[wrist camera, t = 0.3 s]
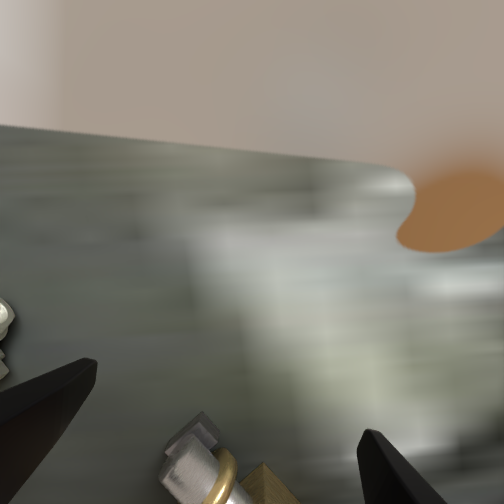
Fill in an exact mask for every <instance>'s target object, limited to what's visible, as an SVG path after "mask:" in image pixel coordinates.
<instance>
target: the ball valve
mask: <svg viewBox="0 0 504 504" xmlns="http://www.w3.org/2000/svg"><path fill="white" fill-rule="evenodd" d="M14 318H15V314H14V312H13V310H12V309H11V307H10V306H9V305H8V304H7V303H6V302H5V301H4V300H3V299H2V298H0V341H1V340H2V339H3V338H4V337H5V336H6V334H7V332H8V326H9V324H10V323H11V322H12V321H13V319H14ZM4 357H5V354H4V353H3V352H2V350H1V349H0V380H1V379H2V378H3V377H4V376H6V375H7V373H8V372H9V369H8V368H7V367H6V366H5V364H4V363H3V362H2V359H3V358H4Z"/></svg>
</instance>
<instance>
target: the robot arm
mask: <svg viewBox="0 0 504 504" xmlns="http://www.w3.org/2000/svg"><path fill="white" fill-rule="evenodd" d="M96 373H97V361H96V360H93V359H89V358H82V359H79V360H77V361H74V362H72V363H69V364H67V365H65V366H62V367H60V368H57V369H55V370H53V371H50V372H48V373H45V374H43V375H40V376H38V377H36V378H33V379H31V380H28V381H26V382H24V383H21V384H19V385H16V386H14V387H11V388H9V389H7V390H4V391H2V392H0V504H8V503H9V502H10V501H11V499H12V498H13V497H14V495H15V494H16V493H17V492H18V490H19V489H20V488H21V487H22V485H23V484H24V483H25V482H26V480H27V479H28V478H29V477H30V475H31V474H32V473H33V472H34V470H35V469H36V468H37V466H38V465H39V464H40V463H41V461H42V460H43V459H44V458H45V456H46V455H47V454H48V453H49V451H50V450H51V449H52V448H53V446H54V445H55V444H56V442H57V441H58V440H59V438H60V437H61V435H62V434H63V433H64V431H65V430H66V428H67V427H68V425H69V424H70V422H71V421H72V419H73V418H74V416H75V415H76V413H77V412H78V410H79V408H80V407H81V405H82V404H83V402H84V401H85V399H86V398H87V396H88V395H89V393H90V392H91V390H92V389H93V387H94V384H95V381H96ZM357 459H358V465H359V471H360V477H361V482H362V488H363V494H364V500H365V504H447V503H446V502H445V500H444V499H443V498H442V497H441V496H440V495H439V494H438V493H437V492H436V491H435V490H434V489H433V488H432V487H431V486H430V485H429V483H428V482H427V481H426V480H425V479H424V478H423V477H422V476H421V475H420V474H419V473H418V472H417V471H416V470H415V469H414V467H413V466H412V465H411V464H410V463H409V462H408V461H407V460H406V459H405V458H404V457H403V456H402V455H401V454H400V453H399V451H398V450H397V449H396V448H395V447H394V446H393V445H392V444H391V443H390V442H389V441H388V440H387V439H386V438H385V437H384V436H383V434H382V433H381V432H379V431H376V430H372V429H366V430H365V431H364V433H363V435H362V438H361V440H360V442H359V444H358V447H357Z"/></svg>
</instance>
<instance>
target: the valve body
mask: <svg viewBox="0 0 504 504" xmlns="http://www.w3.org/2000/svg"><path fill="white" fill-rule="evenodd" d="M219 433H220V430H219V429H218V428H217V427H216V426H215V425H214V424H213V423H212V421H211V420H210V419H209V418H208V417H207V416H206V415H205V414H204V413H203V412H201V413H200V414H199V415H198V416H196V417H195V418H194V419H193V420H192V421H191V422H190V423H188V424H187V425H186V426H185V427H184V428H183V429H182V430H180V431H179V432H178V433H177V434H176V435H175V436H174V437H173V438H171V439H170V441H169V443H168V445H167V448H166V450H165V453H166V454H167V455H168V458H167V459H166V461H165V462H164V464H163V466H162V468H161V470H160V473H159V477H158V480H159V481H160V482H161V483H162V484H163V486H164V487H165V488H166V489H167V490H168V491H169V492H170V493H171V494H172V495H173V496H174V497H175V499H176V500H177V501H178V503H177V504H301V503H300V502H299V501H298V500H297V499H296V497H295V496H294V495H293V494H292V493H291V492H290V491H289V490H288V489H287V488H286V486H285V485H284V484H283V483H282V482H281V481H280V480H279V479H278V478H277V477H276V476H275V474H274V473H273V472H272V471H271V470H270V469H269V468H268V467H267V466H266V465H265V463H264V462H263V463H262V464H261V465H259V466H258V467H257V468H256V469H255V470H254V471H252V472H251V473H250V474H249V475H248V476H247V477H245V478H244V479H243V480H242V481H241V482H240V483H238V482H237V481H236V476H237V461H236V459H235V458H234V457H233V456H232V454H231V453H230V452H229V451H228V450H227V449H226V448H219V449H216V450H215V451H213V452H212V453H211V452H210V451H209V450H210V449H211V448H212V447H213V446H214V445H215V444H217V443H218V439H219Z"/></svg>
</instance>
